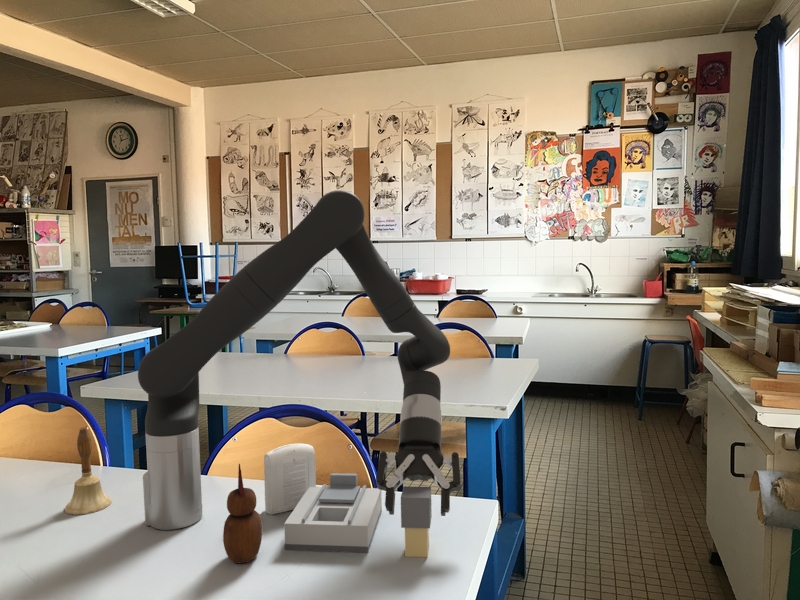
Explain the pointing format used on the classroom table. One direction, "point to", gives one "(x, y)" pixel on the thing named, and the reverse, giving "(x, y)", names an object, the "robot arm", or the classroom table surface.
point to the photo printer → (288, 476)
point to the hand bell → (86, 482)
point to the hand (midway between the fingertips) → (417, 513)
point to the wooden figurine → (242, 525)
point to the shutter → (341, 489)
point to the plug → (416, 519)
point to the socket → (333, 522)
